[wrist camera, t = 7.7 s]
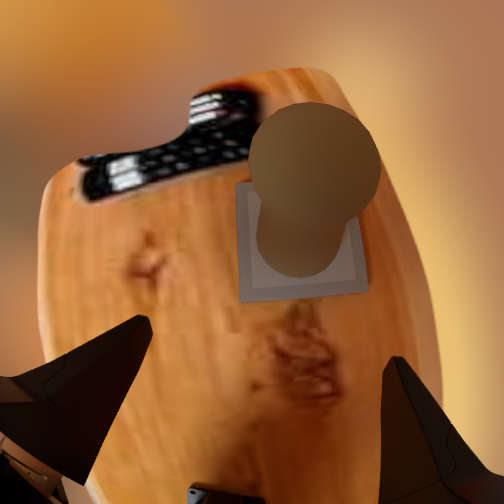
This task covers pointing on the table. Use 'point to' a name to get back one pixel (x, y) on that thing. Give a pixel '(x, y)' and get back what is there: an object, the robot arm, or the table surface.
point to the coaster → (290, 288)
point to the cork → (310, 184)
